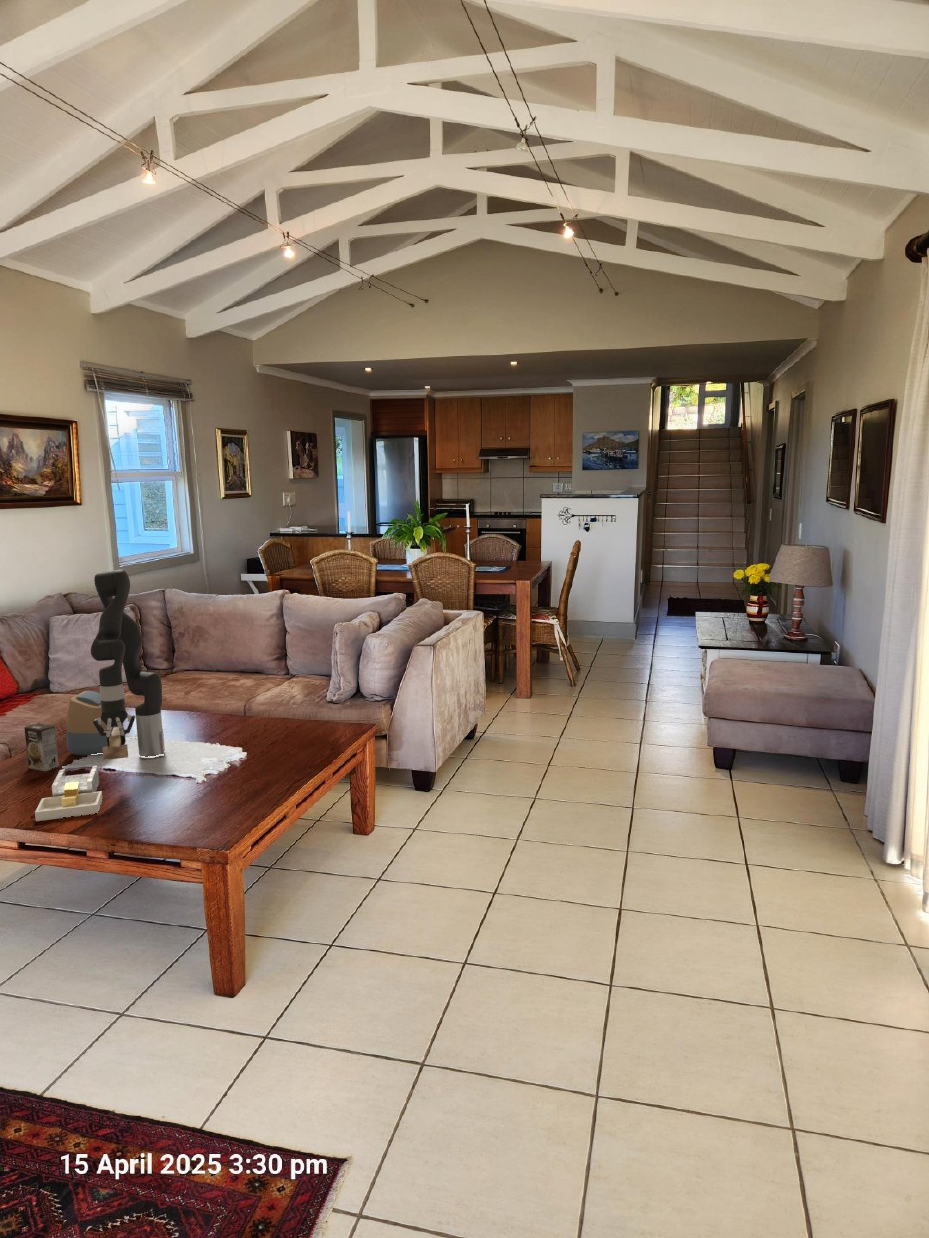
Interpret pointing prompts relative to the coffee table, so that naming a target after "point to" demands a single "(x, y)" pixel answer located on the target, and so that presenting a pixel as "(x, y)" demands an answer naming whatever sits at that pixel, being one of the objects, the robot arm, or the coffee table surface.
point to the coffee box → (41, 746)
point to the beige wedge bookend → (115, 747)
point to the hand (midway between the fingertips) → (116, 745)
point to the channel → (86, 781)
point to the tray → (54, 810)
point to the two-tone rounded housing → (85, 724)
